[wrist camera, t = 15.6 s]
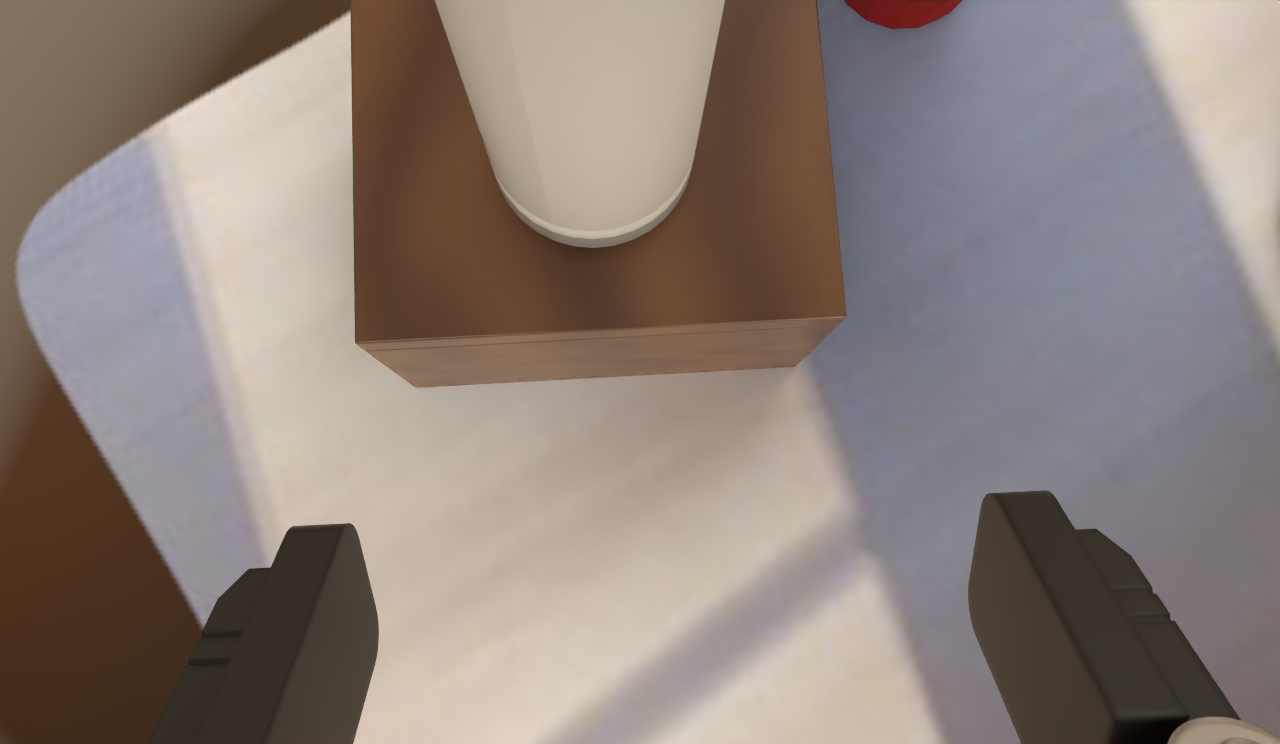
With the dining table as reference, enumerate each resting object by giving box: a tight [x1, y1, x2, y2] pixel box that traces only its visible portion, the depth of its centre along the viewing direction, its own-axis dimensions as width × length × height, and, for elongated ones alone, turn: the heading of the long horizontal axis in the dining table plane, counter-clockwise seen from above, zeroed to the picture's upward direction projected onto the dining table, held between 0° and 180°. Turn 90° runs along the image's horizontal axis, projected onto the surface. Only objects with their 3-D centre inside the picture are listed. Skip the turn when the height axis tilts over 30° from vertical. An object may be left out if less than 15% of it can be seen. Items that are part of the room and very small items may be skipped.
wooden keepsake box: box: [351, 0, 846, 387], centre depth 36 cm, size 15×12×9 cm
